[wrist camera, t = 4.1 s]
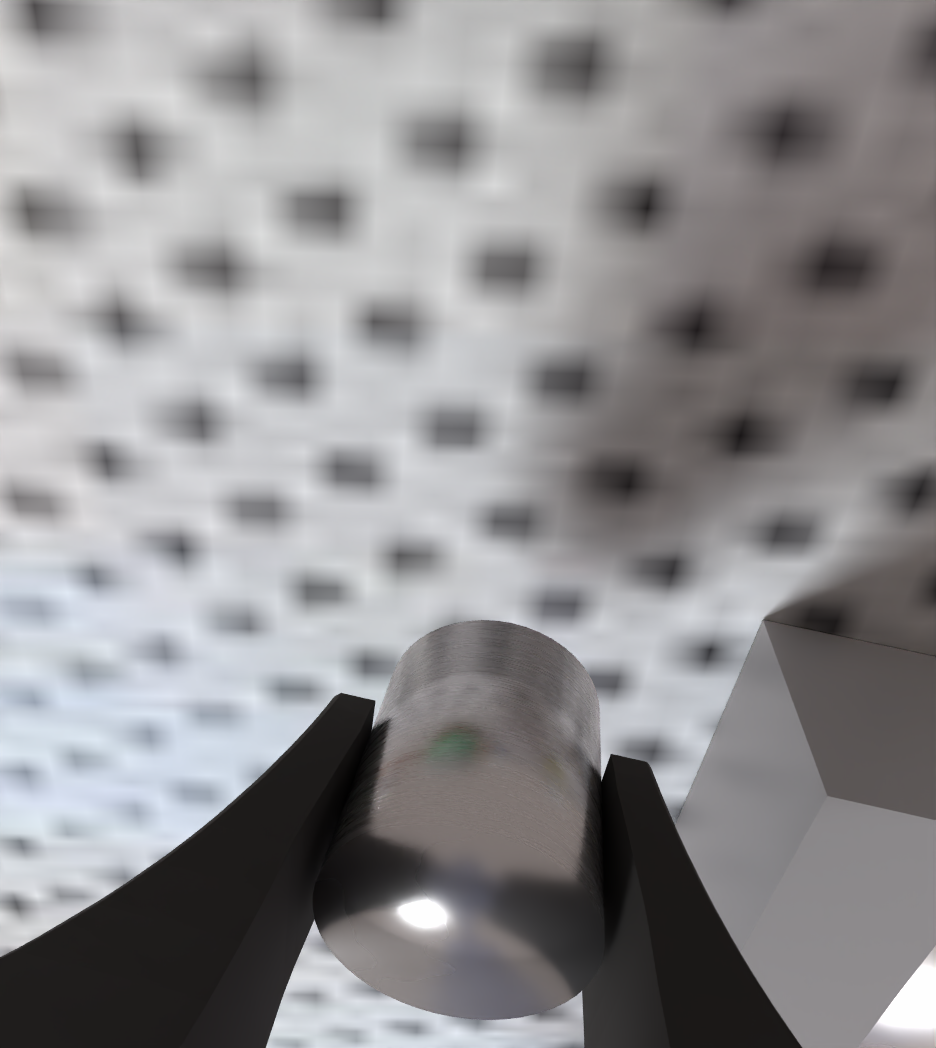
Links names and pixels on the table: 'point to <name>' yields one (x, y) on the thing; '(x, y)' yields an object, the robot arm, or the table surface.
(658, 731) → the table surface
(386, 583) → the table surface
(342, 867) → the cylinder
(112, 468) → the table surface
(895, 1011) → the pan
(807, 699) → the scale
